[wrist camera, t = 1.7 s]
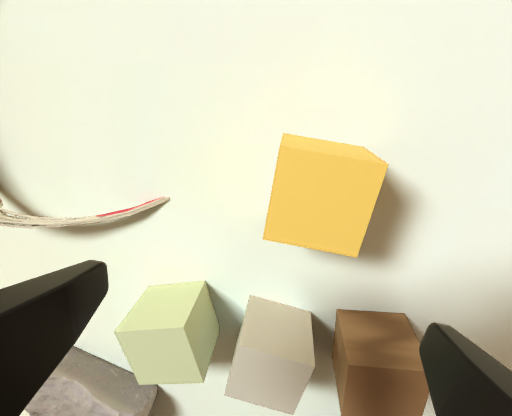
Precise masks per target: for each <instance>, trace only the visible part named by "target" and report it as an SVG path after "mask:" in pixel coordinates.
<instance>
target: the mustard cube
mask: <svg viewBox="0 0 512 416" xmlns="http://www.w3.org/2000/svg"><path fill="white" fill-rule="evenodd" d="M388 165H389V164H387V163H386V162H384V161H383V160H382V159H380V158H379V157H377V156H376V155H374V154H373V153H371V152H370V151H368V150H367V149H366V148H364V147H361V146H355V145H349V144H344V143H338V142H332V141H326V140H320V139H314V138H309V137H303V136H297V135H291V134H285V133H283V136H282V140H281V143H280V148H279V153H278V159H277V164H276V170H275V175H274V181H273V186H272V192H271V197H270V203H269V208H268V213H267V219H266V224H265V230H264V235H263V239H264V240H269V241H274V242H279V243H284V244H290V245H295V246H300V247H305V248H310V249H315V250H320V251H325V252H331V253H336V254H341V255H346V256H351V257H356V258H357V256H358V253H359V250H360V247H361V244H362V241H363V238H364V235H365V233H366V230H367V227H368V224H369V221H370V218H371V215H372V212H373V209H374V206H375V203H376V200H377V197H378V194H379V191H380V188H381V185H382V183H383V180H384V177H385V174H386V171H387V168H388Z"/></svg>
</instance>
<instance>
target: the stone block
mask: <svg viewBox="0 0 512 416" xmlns="http://www.w3.org/2000/svg"><path fill="white" fill-rule="evenodd" d="M157 388H158V386H157V385H156V384H151V385H139V384H138V381H137V379H136V377H135V375H134V373H132V372H129V371H127V370H125V369H123V368H121V367H118V366H116V365H114V364H112V363H110V362H107V361H105V360H103V359H101V358H98V357H96V356H93V355H91V354H89V353H87V352H86V351H83V350H81V349H79V348H77V347H75V346H72V348H71V349H70V351H69V352H68V353H67V354H66V356H65V357H64V358H63V360H62V361H61V362H60V364H59V365H58V366H57V367H56V369H55V370H54V371H53V373H52V374H51V375H50V377H49V378H48V379H47V380H46V382H45V383H44V384H43V386H42V387H41V388H40V389H39V391H38V392H37V393H36V395H35V396H34V397H33V399H32V400H31V401H30V402H29V404H28V405H27V406H26V408H25V409H24V410H26V411H27V412H28V413H29V414H30V416H148V415H149V413H150V411H151V408H152V405H153V402H154V400H155V398H156V395H157Z"/></svg>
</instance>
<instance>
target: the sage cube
mask: <svg viewBox="0 0 512 416" xmlns="http://www.w3.org/2000/svg"><path fill="white" fill-rule="evenodd" d="M219 331H220V327H219V324H218V321H217V317H216V314H215V311H214V307H213V304H212V301H211V298H210V294H209V291H208V288H207V285H206V281H197V282H187V283H177V284H167V285H156V286H149V287H148V288H147V289H146V291H145V292H144V293H143V295H142V296H141V297H140V299H139V300H138V301H137V302H136V304H135V305H134V306H133V308H132V309H131V310H130V312H129V313H128V314H127V316H126V317H125V318H124V320H123V321H122V322H121V324H120V325H119V326H118V328H117V329H116V330H115V331H114V333H115V335H116V337H117V339H118V341H119V343H120V346H121V348H122V350H123V352H124V354H125V356H126V358H127V360H128V362H129V365H130V367H131V369H132V371H133V373H134V375H135V377H136V379H137V381H138V384H139V385H151V384H184V383H204V380H205V377H206V373H207V370H208V367H209V364H210V360H211V357H212V354H213V351H214V347H215V344H216V341H217V338H218V334H219Z"/></svg>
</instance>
